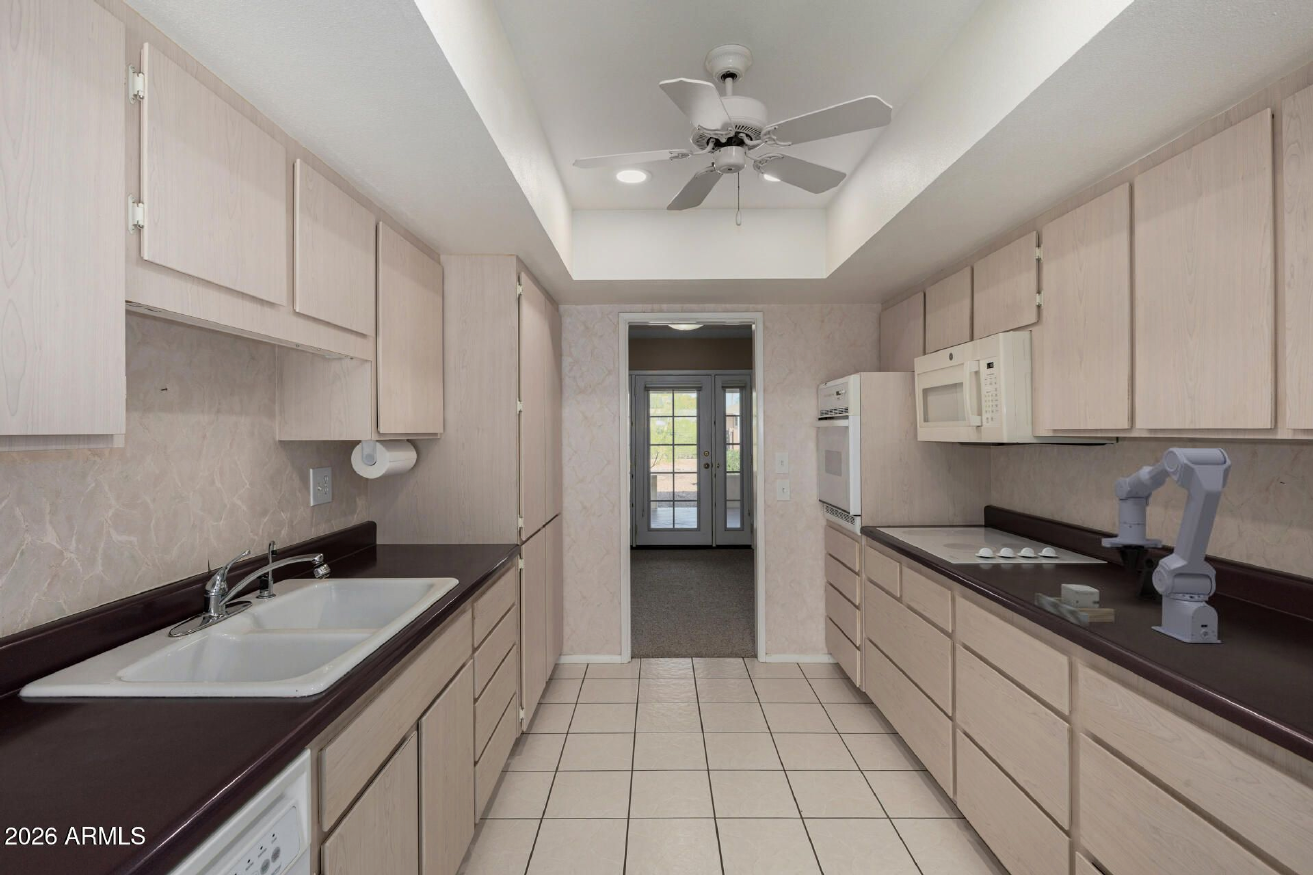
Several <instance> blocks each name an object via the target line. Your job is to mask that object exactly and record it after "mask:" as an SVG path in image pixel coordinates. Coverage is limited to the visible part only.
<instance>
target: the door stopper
mask: <svg viewBox="0 0 1313 875" xmlns="http://www.w3.org/2000/svg"><path fill="white" fill-rule="evenodd" d="M1165 557H1166V556H1165ZM1165 557H1164V556H1161V557H1160V556H1159V557H1147V558H1145V559H1143V560H1144V561H1143V564H1144V567H1143V570H1142V572H1141V574H1140V578H1139V580H1138V581H1137V584H1136V586H1135V590H1134V591H1133V595H1132V596H1133V597H1135V598H1138V599H1142V600H1145V601H1148V600H1149V602H1151V603H1155V604H1158V605H1161V604H1162V599H1163V595H1162V594H1160V593H1159V592H1158V591H1157V589H1156V588H1155V587H1154V584H1153V580H1152V577H1153V573H1154V571H1155V570H1156V568H1157V567H1158V565H1159V561H1160V560H1162V559H1163V558H1165Z"/></svg>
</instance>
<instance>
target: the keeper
mask: <svg viewBox="0 0 1313 875" xmlns="http://www.w3.org/2000/svg"><path fill="white" fill-rule="evenodd" d="M1034 605H1035V606H1038V607H1040V608H1042V609H1044V610H1046V611H1048V612H1050V613H1052V614H1055V615H1057V616H1059V617H1061V618H1063V619H1065V620H1067V621H1069V622H1071V623H1074V624H1075V625H1078V626H1080V627H1081V628H1085V627H1086V628H1090V623H1092V622H1093V623H1114V622H1115V609H1113V608H1105V607H1104V608H1103V607H1102V608H1100V607H1099V608H1073V607H1071V606H1068V605H1066V604H1064V603H1062V602H1061V597H1052V596H1051V597H1050V596H1048V595H1046V594H1043V593H1037V592H1036V593H1034Z"/></svg>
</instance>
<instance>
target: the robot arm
mask: <svg viewBox="0 0 1313 875" xmlns="http://www.w3.org/2000/svg"><path fill="white" fill-rule="evenodd" d="M1162 456H1163V457H1162V459H1161V460H1160V461H1159V462H1158V463H1156V464H1155V465H1154V466H1148V465H1143V466H1142V467H1141V468H1140V469H1139V470H1138V471H1137V472H1135V473H1133V474H1131V476H1129V477H1128V478H1127V477H1118V478H1117V479H1116V480H1115V481H1114V485H1113V490H1114V491H1113V492H1114V495H1115V497H1116V499H1118V520H1117V521H1118V525H1117V526H1118V527H1117V528H1118V529H1117V534H1118V536H1117V537H1111V538H1110V537H1109V538H1101V546H1102V547H1106V548H1111V547H1114V548H1115V550H1116V552H1117V554H1119V557H1120V558H1121V561H1122V564H1123V567H1124V571H1125V573H1126V574H1129V575H1135V576H1136V575H1137V573H1138V571H1139V568H1140V566H1141V564H1142V561H1143V560H1144V558H1145V557H1146V555H1148V554H1149V549H1148V548H1162V547H1163V540H1161V539H1158V538H1146V537H1147V536H1146V535H1147V533H1146V532H1147V507H1149V506H1150V499H1151V498H1152V496H1153V492H1154V491H1157V490H1158V489H1159V488H1162V487H1163V486H1165V484H1166V482H1167V479H1168V478H1170V477H1171V478H1172V479H1173V481H1174V482H1175V484H1176V485H1177V486H1178V487H1180V488H1182V489H1185V490H1186V491H1187V496H1186V499H1185V500H1186V501H1185V505H1184V509H1183V512H1182V517H1181V521H1180V524H1179V529H1178V533H1177V536H1176V541H1175V545H1174V549H1173V553H1172V554H1170V555H1168V556H1165V558H1163V559H1162V560H1160V561H1159V565H1158V567H1157V568H1156V570H1155V571H1154V573H1153V577H1152V580H1153V584H1154V587H1155V588H1156V589H1157V591H1158V592H1159V593H1160V594H1162V595H1163V599H1162V607H1161V608H1162V609H1161V611H1162V612H1161V613H1162V614H1161V626H1155V625H1154V626H1151V629H1152V630H1154V631H1158V633H1159V632H1160V633H1162V634H1164V635H1166V636H1169V637H1172V638H1174V639H1177V640H1178V641H1182V642H1184V643H1188V644H1190V643H1191V644H1192V643H1193V644H1194V643H1199V644H1203V643H1204V644H1207V643H1208V644H1210V643H1211V644H1221V643H1222V641H1221V640H1220V639H1218V621H1219V620H1218V613H1217V611H1216V609H1215V608H1214V607H1212V606H1211V605H1209V604H1207V603H1206V601H1209V597H1211V596H1212V595H1214V593H1215V591H1216V585H1217V584H1216V574H1217V572H1216V569H1214V567H1213V566H1212V565H1210V564H1209V563H1208V562H1206V561H1205V557H1206V553H1207V551H1208V550H1207V549H1208V547H1209V546H1208V545H1209V542H1210V537H1211V535H1212V531H1213V527H1214V525H1215V524H1214V523H1215V521H1216V520H1215V519H1216V516H1217V512H1218V508H1219V505H1220V504H1219V503H1220V501H1221V498H1222V497H1221V496H1222V494H1223V489H1224V488H1226V486H1227V482H1228V479H1229V475H1230V472H1231V467H1232V462H1231V460H1230V458H1229V456H1228V453H1227V452H1226V451H1225V450H1224V449H1222V448H1221V447H1215V448H1214V447H1212V448H1209V447H1208V448H1203V447H1202V448H1201V447H1200V448H1197V447H1195V448H1194V447H1193V448H1191V447H1186V448H1184V447H1176V446H1175V447H1170V448H1168V450H1165V451H1164V452H1163V454H1162Z"/></svg>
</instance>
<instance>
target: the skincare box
mask: <svg viewBox="0 0 1313 875" xmlns="http://www.w3.org/2000/svg"><path fill="white" fill-rule="evenodd" d="M1060 586H1061V588H1060V589H1061V595H1060V598H1061V602H1062V603H1064V604H1066V605H1068V606H1071V607H1073V608H1100V602H1099V601H1100V591H1099V590H1098V589H1096V588H1094V587H1091V586H1089V585H1087V584H1075V583H1073V584H1072V583H1071V584H1067V583H1061V585H1060Z"/></svg>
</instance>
